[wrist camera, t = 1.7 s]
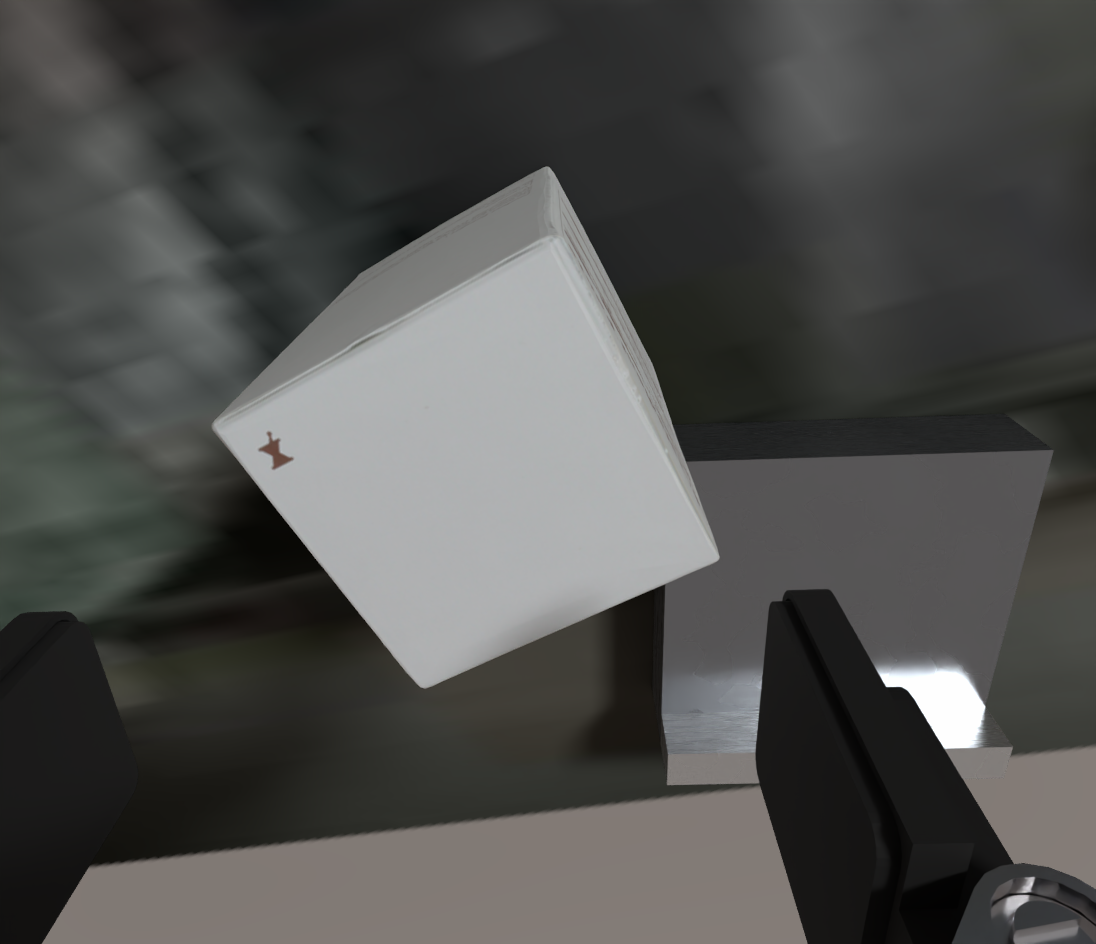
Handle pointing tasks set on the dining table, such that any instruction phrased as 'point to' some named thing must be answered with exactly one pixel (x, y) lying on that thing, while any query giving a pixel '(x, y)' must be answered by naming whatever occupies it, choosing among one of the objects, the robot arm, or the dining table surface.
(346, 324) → the supplement box
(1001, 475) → the stand plate
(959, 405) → the dining table surface
